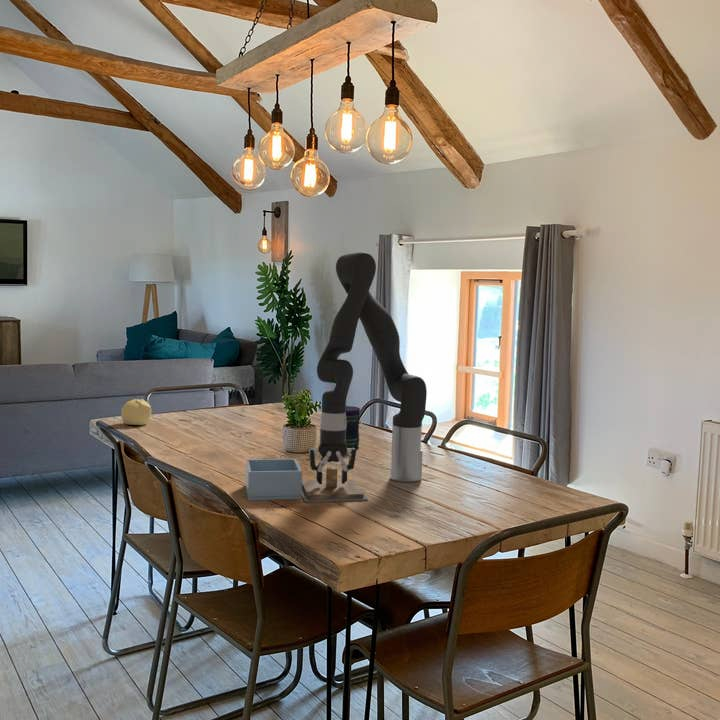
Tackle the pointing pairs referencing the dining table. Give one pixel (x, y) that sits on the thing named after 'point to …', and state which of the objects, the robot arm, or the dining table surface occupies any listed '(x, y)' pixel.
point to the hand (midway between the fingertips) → (331, 483)
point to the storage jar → (352, 427)
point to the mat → (332, 499)
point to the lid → (331, 487)
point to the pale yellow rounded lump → (136, 412)
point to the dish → (273, 479)
